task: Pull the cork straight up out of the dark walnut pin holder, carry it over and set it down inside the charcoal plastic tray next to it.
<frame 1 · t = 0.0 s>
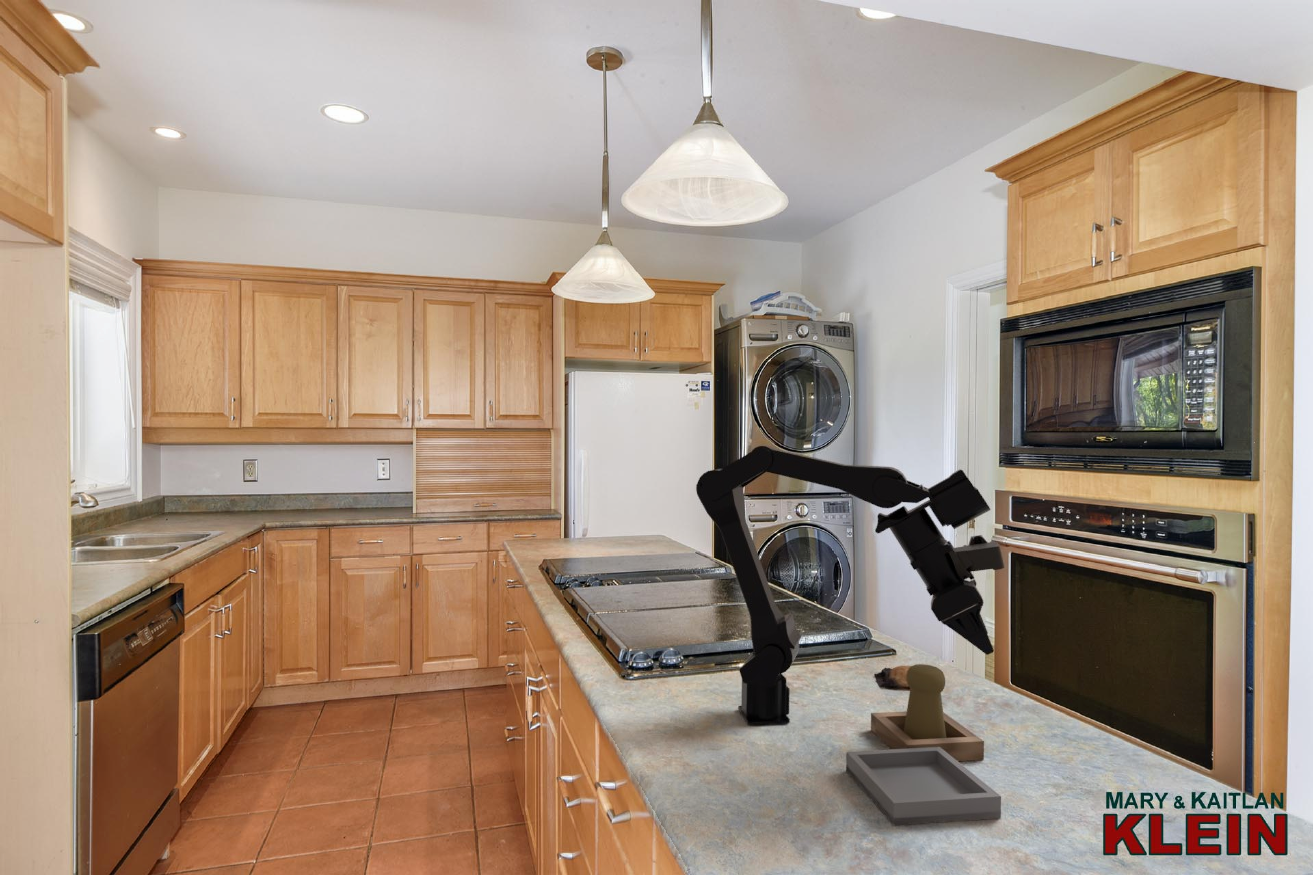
hand: (987, 643, 99), 15 cm above the countertop, tool tilted 35°, fingers open, 9 cm apart
bread roll: (907, 687, 126), on the countertop
tray: (918, 792, 87), on the countertop
cork: (924, 745, 101), resting in pin holder
pin holder: (924, 743, 101), on the countertop
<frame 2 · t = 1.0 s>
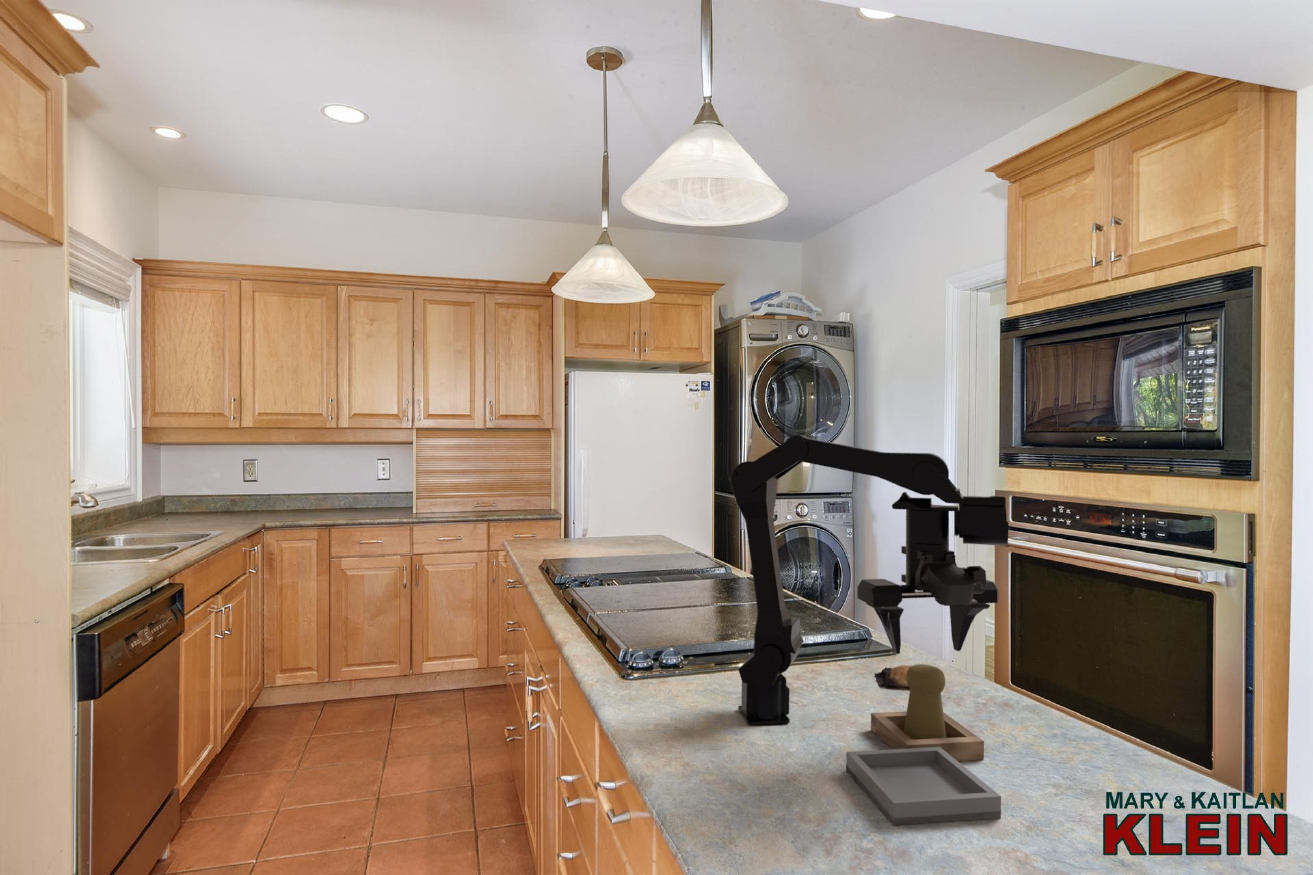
hand: (927, 651, 101), 13 cm above the countertop, tool pointing down, fingers open, 9 cm apart
nothing on the countertop moved.
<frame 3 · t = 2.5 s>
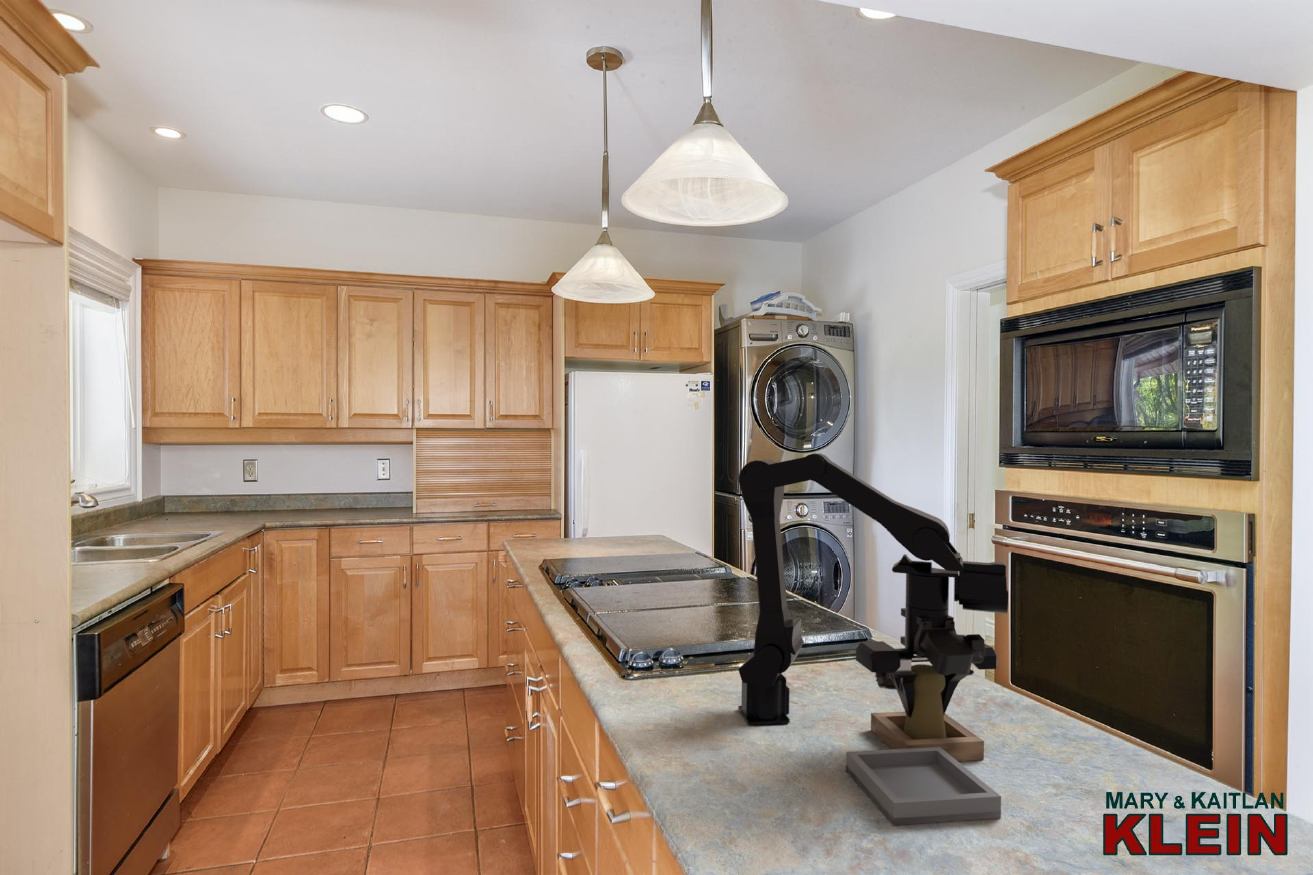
hand: (925, 715, 101), 4 cm above the countertop, tool pointing down, fingers closed on cork, 4 cm apart
cork: (924, 745, 101), resting in pin holder, touching gripper
everything else where it was.
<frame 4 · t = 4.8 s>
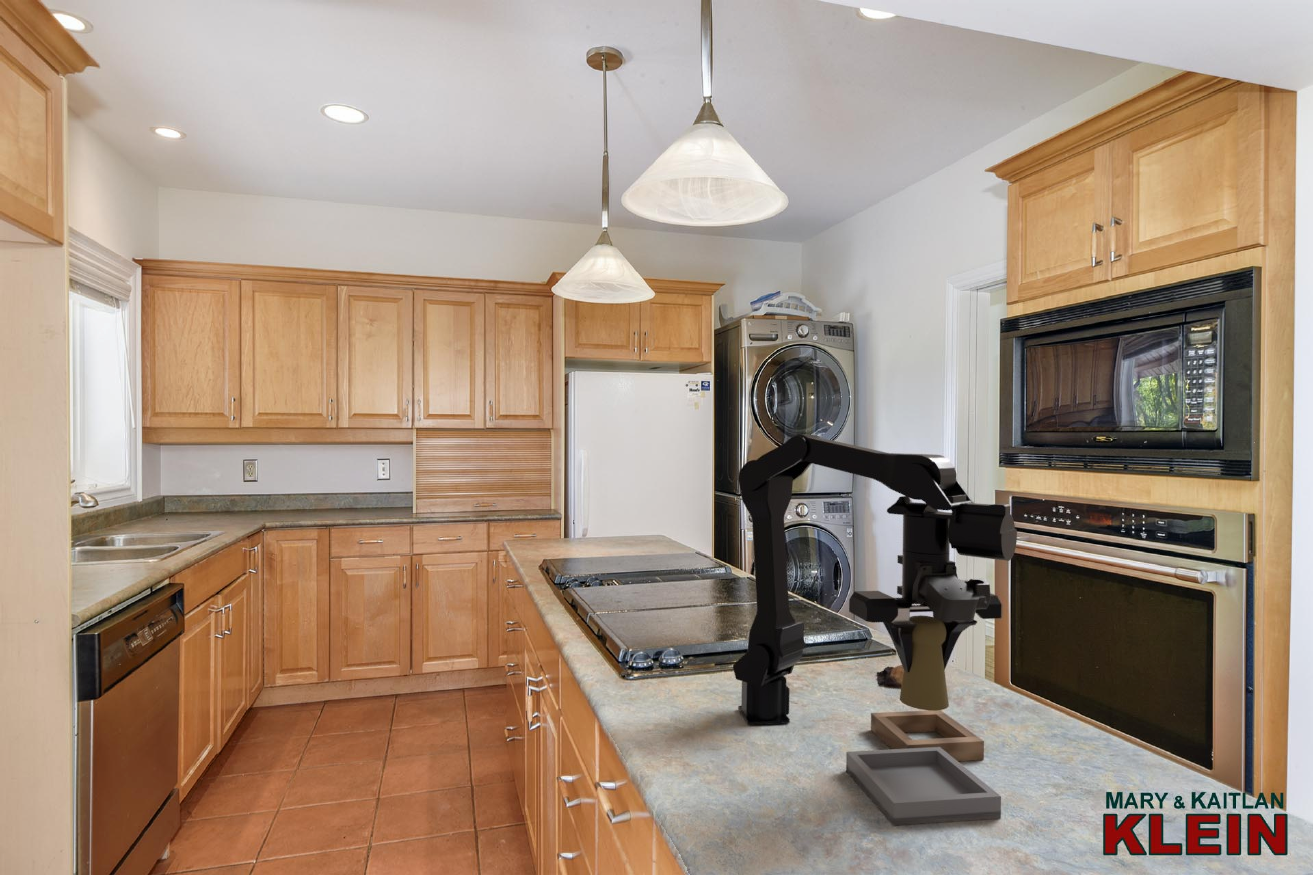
hand: (924, 670, 93), 13 cm above the countertop, tool pointing down, fingers closed on cork, 4 cm apart
cork: (923, 703, 93), point 9 cm above the countertop, touching gripper
everything else where it was.
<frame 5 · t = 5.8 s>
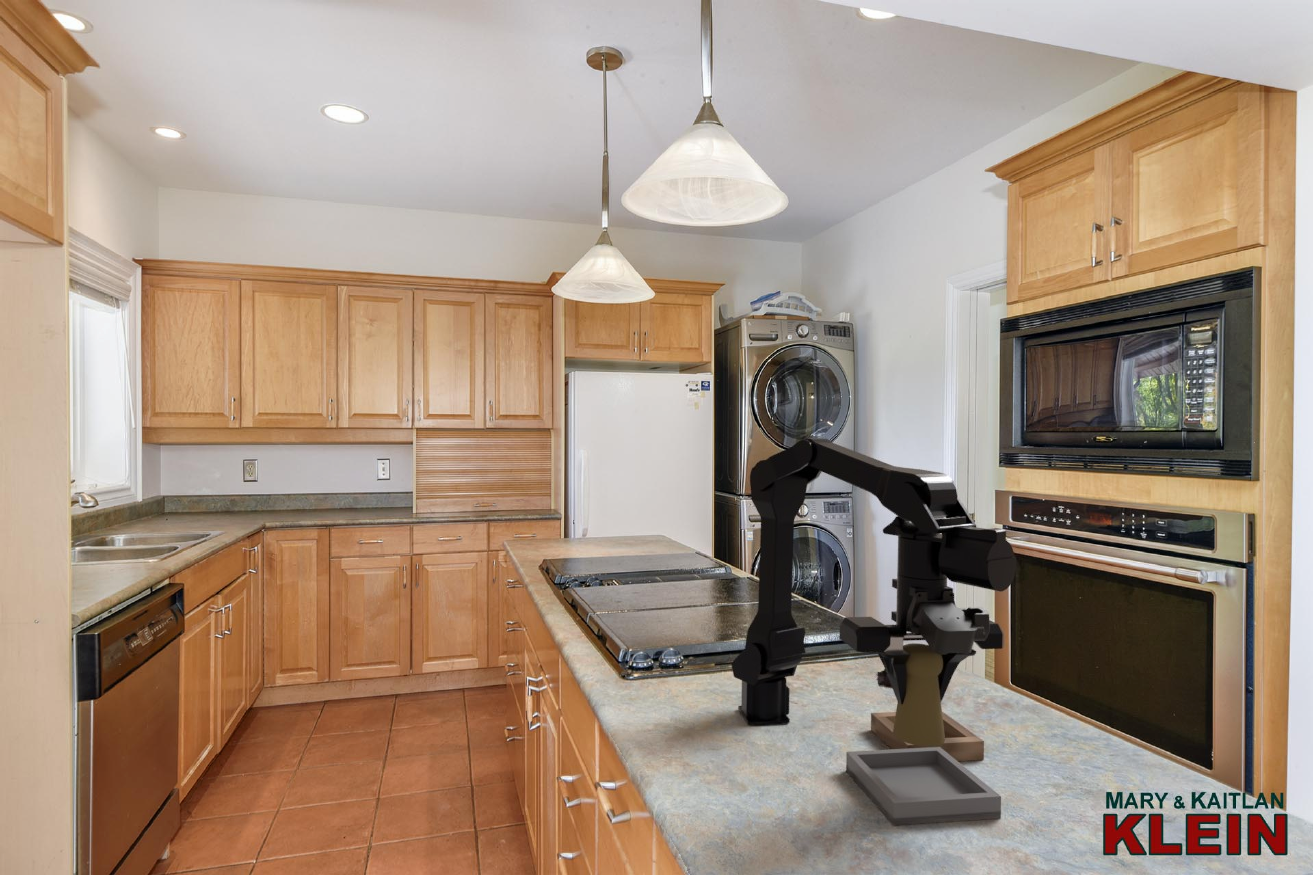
hand: (919, 702, 87), 11 cm above the countertop, tool pointing down, fingers closed on cork, 4 cm apart
cork: (918, 737, 87), point 7 cm above the countertop, touching gripper
everything else where it was.
when the fingers open (6 cm above the countertop, at t = 6.9 s): cork drops 2 cm, resting on tray.
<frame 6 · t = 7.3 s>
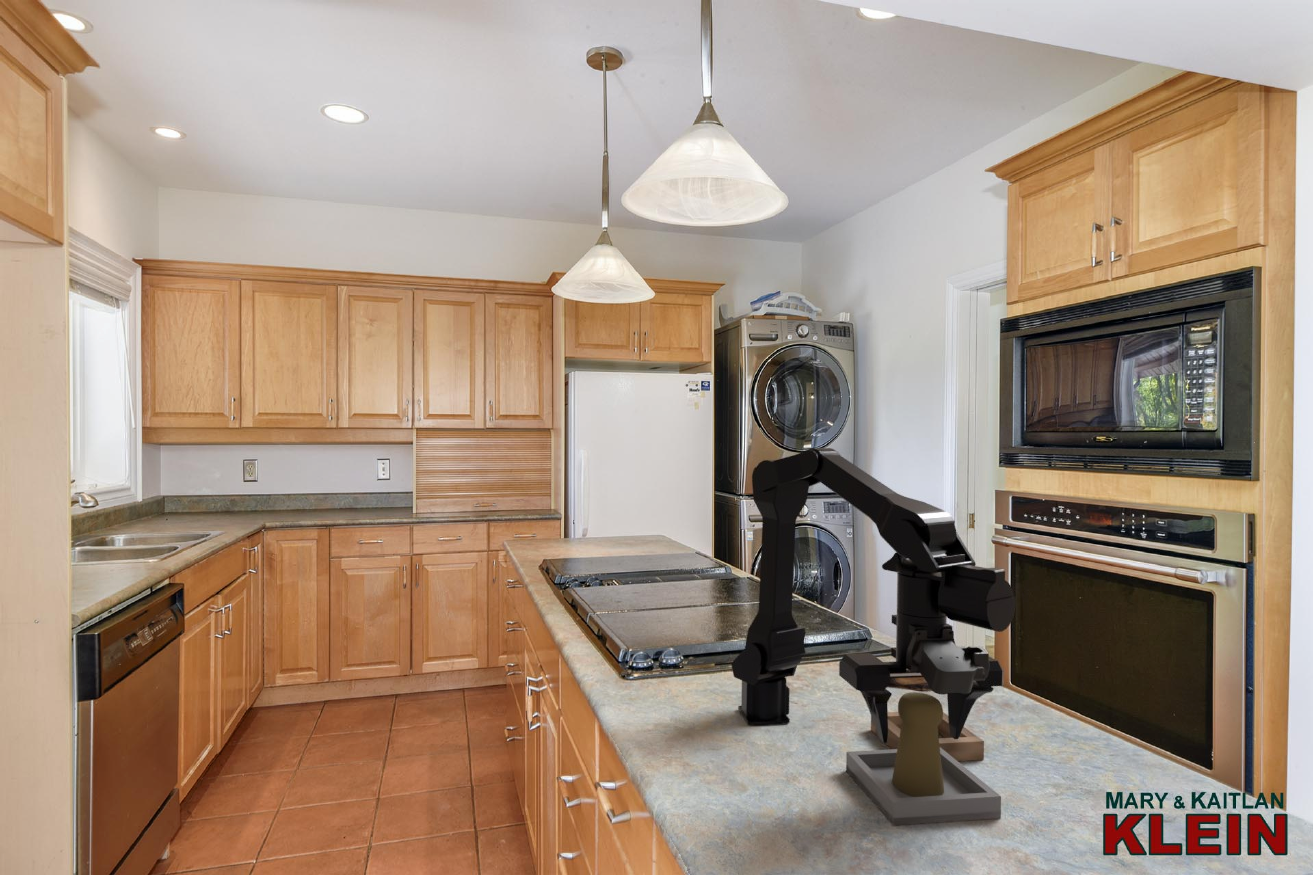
hand: (919, 739, 87), 6 cm above the countertop, tool pointing down, fingers open, 9 cm apart
cork: (917, 787, 87), point 1 cm above the countertop, touching tray
everything else where it was.
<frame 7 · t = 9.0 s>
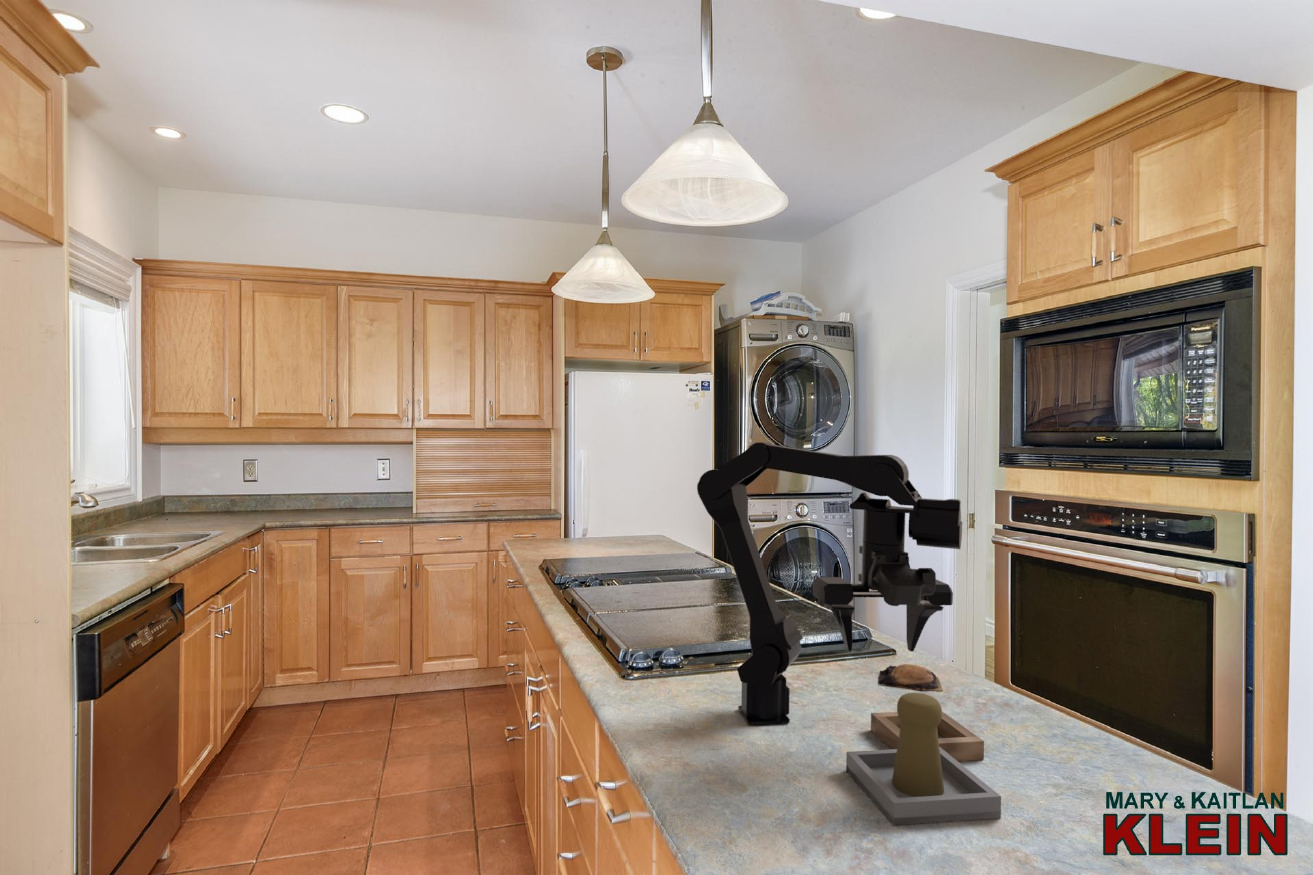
hand: (879, 650, 102), 13 cm above the countertop, tool pointing down, fingers open, 9 cm apart
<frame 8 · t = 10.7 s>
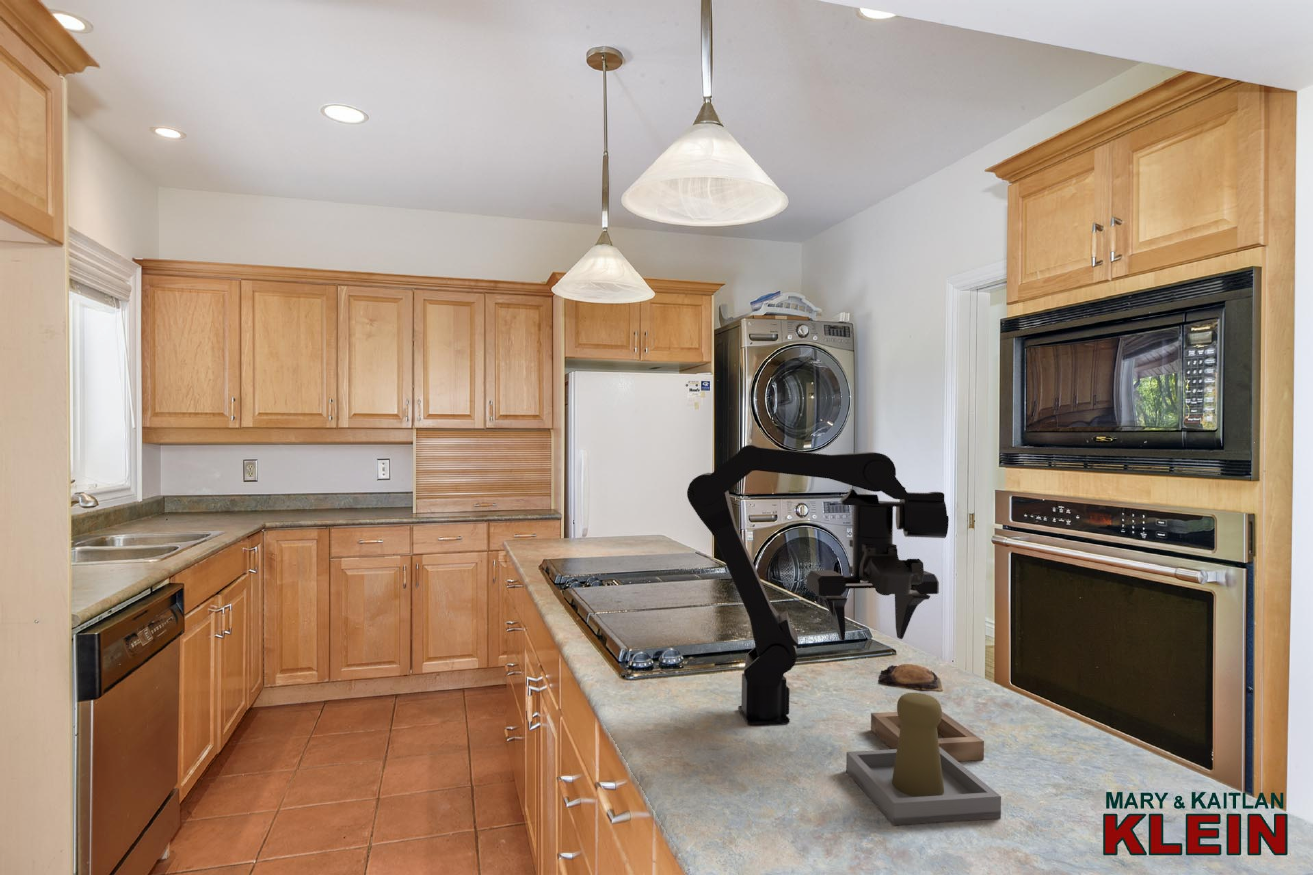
hand: (871, 639, 107), 13 cm above the countertop, tool pointing down, fingers open, 9 cm apart
at the end: cork inside the target area on the tray (0.1 cm from its centre), point 0.6 cm above the tray's base; cork tilted 0°; the gripper is holding nothing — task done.
